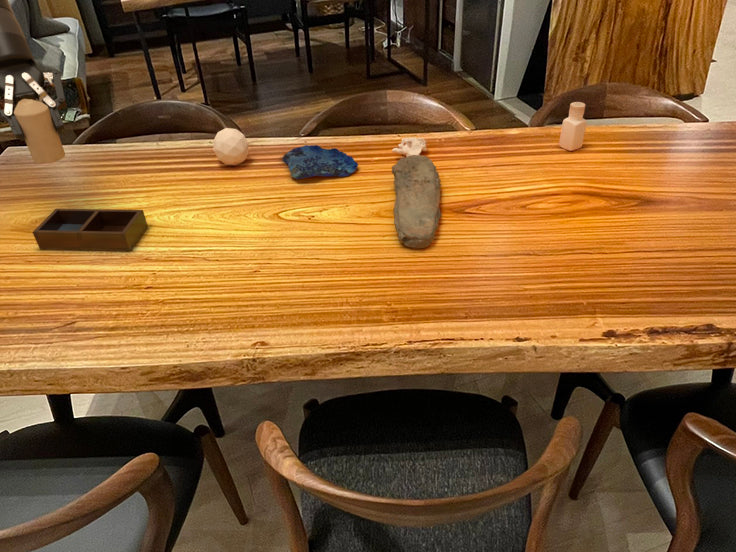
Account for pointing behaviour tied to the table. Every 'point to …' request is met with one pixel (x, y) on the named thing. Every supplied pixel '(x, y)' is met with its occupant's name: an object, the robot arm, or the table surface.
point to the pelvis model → (411, 146)
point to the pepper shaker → (573, 127)
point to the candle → (39, 131)
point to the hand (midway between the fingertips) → (41, 134)
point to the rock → (318, 162)
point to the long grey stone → (416, 200)
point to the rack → (91, 229)
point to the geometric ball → (230, 146)
